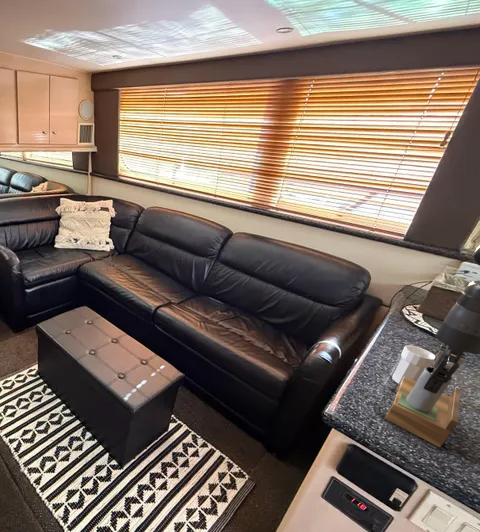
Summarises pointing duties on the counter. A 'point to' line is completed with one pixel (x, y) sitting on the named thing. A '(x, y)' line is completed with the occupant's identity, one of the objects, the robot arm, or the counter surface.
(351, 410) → the counter surface
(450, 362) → the robot arm
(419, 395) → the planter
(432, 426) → the green-lined wooden tray
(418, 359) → the cup
